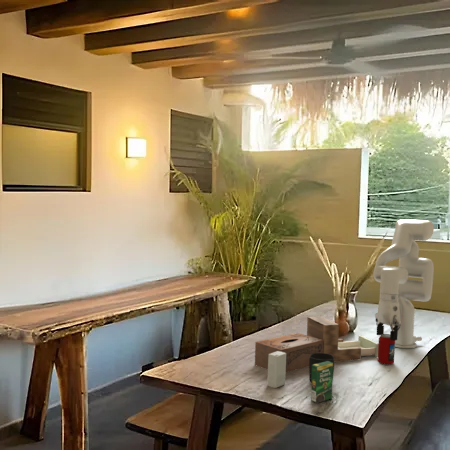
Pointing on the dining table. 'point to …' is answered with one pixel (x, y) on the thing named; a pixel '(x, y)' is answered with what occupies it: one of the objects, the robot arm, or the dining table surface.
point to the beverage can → (386, 350)
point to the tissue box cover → (288, 350)
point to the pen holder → (319, 361)
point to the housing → (330, 339)
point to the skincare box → (276, 369)
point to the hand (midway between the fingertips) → (386, 337)
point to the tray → (361, 346)
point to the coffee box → (321, 381)
